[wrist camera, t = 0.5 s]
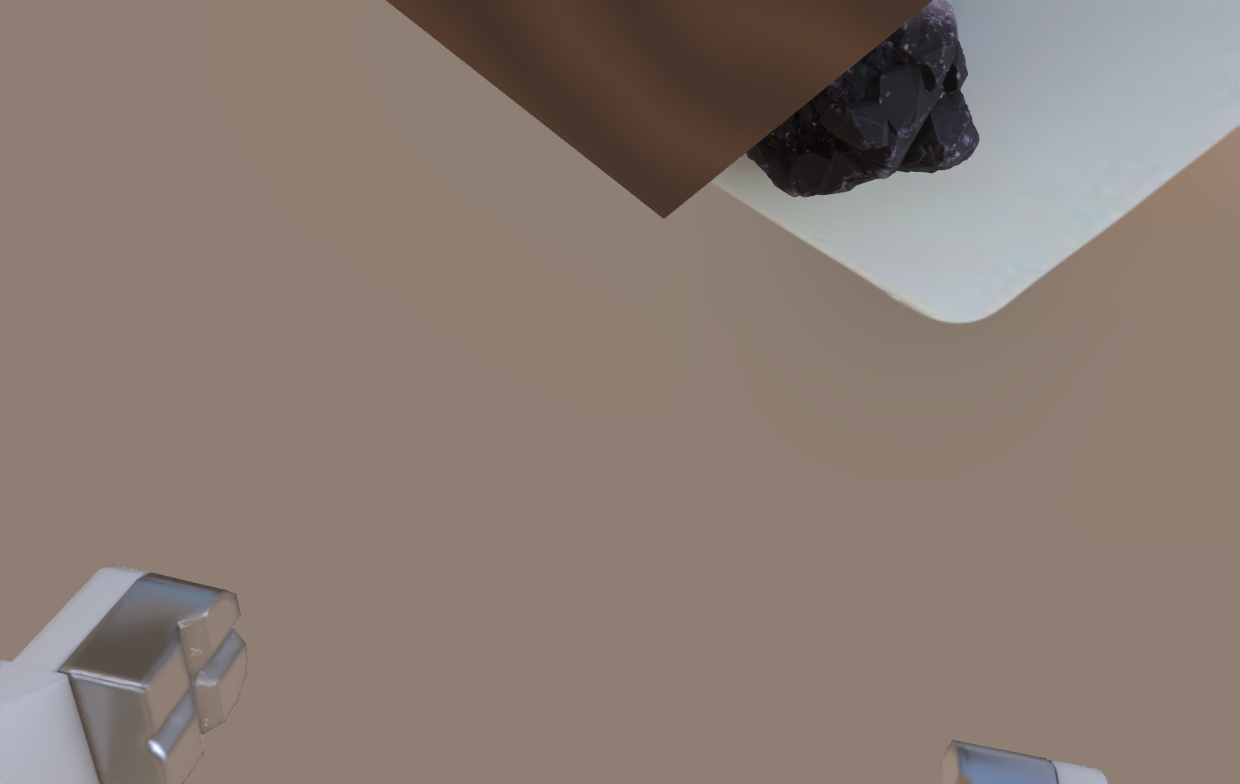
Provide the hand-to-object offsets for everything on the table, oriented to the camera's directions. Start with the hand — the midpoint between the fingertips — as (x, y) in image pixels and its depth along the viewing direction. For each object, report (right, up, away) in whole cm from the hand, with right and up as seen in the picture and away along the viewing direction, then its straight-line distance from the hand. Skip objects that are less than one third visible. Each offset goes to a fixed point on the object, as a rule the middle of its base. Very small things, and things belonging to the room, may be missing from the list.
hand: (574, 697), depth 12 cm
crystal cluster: (+14, +22, +49) cm, 56 cm away
